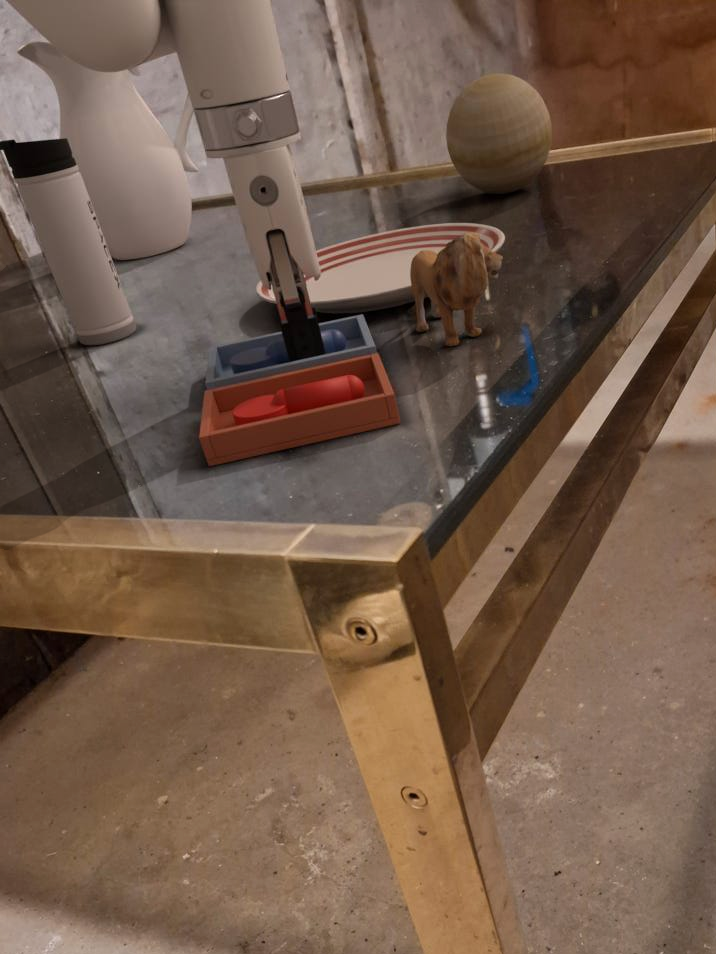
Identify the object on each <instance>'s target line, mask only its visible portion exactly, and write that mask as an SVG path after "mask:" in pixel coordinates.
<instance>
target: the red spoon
mask: <svg viewBox="0 0 716 954" xmlns="http://www.w3.org/2000/svg"><path fill="white" fill-rule="evenodd" d="M364 392H365V389H364V384H363V382H362V381H361V380H360V379H359V378H358V377H356V376H354V375H346V376H341V377H336V378H332V379H327V380H323V381H318V382H314V383H309V384H304V385H300V386H295V387H291V388H286V389H282V390H280V391H278V392H277V393H276V394H275V395H265V396H260V397H256V398H252V399H249V400H247V401H245V402H242V403H241V404H239V405H237V406H236V407H235V408H234V409H233V411H232V414H233V417H234V421H235V424H236V426H239V425H244V424H248V423H253V422H257V421H262V420H266V419H271V418H275V417H280V416H284V415H289V414H293V413H298V412H302V411H307V410H311V409H316V408H320V407H325V406H329V405H334V404H338V403H343V402H347V401H352V400H356V399H361V398H363V396H364Z"/></svg>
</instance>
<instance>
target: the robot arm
mask: <svg viewBox="0 0 716 954" xmlns="http://www.w3.org/2000/svg"><path fill="white" fill-rule="evenodd" d="M5 1H6V2H7V3H8V4H9V5H10V6H11V7H12V8H13V9H14V11H16V12H17V13H18V14H19V15H20V16H21V17H22V18H23V19H24V20H25V21H26V22H27V23H28V24H30V25H31V27H33V28H34V29H35V30H36V31H37V32H38V33H39V34H40V35H41V36H42V37H43V38H45V40H47V42H50V43H51V44H52V45H53V46H55V47H56V48H57V49H58V50H59V51H60V52H62V53H63V54H64V55H65V56H67V57H68V58H70V59H71V60H73V61H74V62H76V63H78V64H79V65H81V66H83V67H86V68H88V69H91V70H94V71H99V72H119V71H123V70H127V69H131V68H134V67H137V66H139V67H140V66H141V65H144V64H146V63H149V62H152V61H154V60H157V59H160V58H162V57H166V56H168V55H172V54H175V53H176V55H177V58H178V62H179V66H180V69H181V72H182V75H183V79H184V84H185V86H186V89H187V94H189V97H190V101H191V104H192V108H194V110H193V111H194V112H193V115H194V117H195V121H196V125H197V128H198V133H199V135H200V139H201V142H202V147H203V149H204V153H205V156H206V158H207V159H223V163H224V167H225V170H226V174H227V178H228V181H229V185H230V189H231V192H232V195H233V199H234V202H235V206H236V209H237V212H238V216H239V220H240V223H241V226H242V229H243V233H244V236H245V239H246V242H247V244H248V245H247V246H248V248H249V251H250V254H251V257H252V260H253V262H254V265H255V268H256V272H257V274H258V276H259V279H260V280H261V282H262V285H263V286H264V287H265V288H267V289H269V290H271V284H272V290H273V293H274V296H275V299H276V303H277V304H276V306H277V310H278V318H279V321H280V322H279V328H280V332H282V335H283V339H284V343H285V346H286V350H287V354H288V357H289V361H290V362H293V361H297V360H302V359H307V358H311V357H316V356H320V355H325V354H326V352H325V348H324V344H323V340H322V336H321V332H320V328H319V323H320V322H319V320H318V316H317V311H315V307H311V303H310V298H309V294H308V290H307V286H306V281H305V278H304V275H305V276H306V277H311V276H314V279H315V281H317V280H318V279H319V278H320V276H321V271H320V266H319V262H318V258H317V253H316V251H317V250H316V249H317V248H316V245H315V240H314V235H313V233H312V228H311V223H310V219H309V214H308V210H307V207H306V202H305V198H304V194H303V189H302V185H301V182H300V177H299V174H298V170H297V167H296V164H295V161H294V157H293V153H292V151H291V148H290V145H293V144H295V143H298V142H299V141H301V140H302V136H301V135H302V134H301V131H300V126H299V122H298V118H297V117H298V116H297V114H296V108H295V104H294V100H293V95H292V91H291V87H290V83H289V78H288V73H287V69H286V66H285V65H286V64H285V60H284V57H283V52H282V48H281V44H280V40H279V35H278V31H277V27H276V22H275V17H274V13H273V9H272V4H271V1H270V0H5Z"/></svg>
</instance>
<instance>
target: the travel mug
mask: <svg viewBox="0 0 716 954" xmlns="http://www.w3.org/2000/svg"><path fill="white" fill-rule="evenodd" d="M0 151H2V152H3V154H4V157H5V159H6V162H7V164H8V166H9V168H10V169H11V175H12V176H13V181H14V182H15V184H17V187H16V188H17V190H18V192H19V195H20V197H21V200H22V202H23V205H24V207H25V210H26V212H27V215H28V218H29V220H30V222H31V225H32V228H33V229H34V232H35V235H36V237H37V240H38V242H39V244H40V247H41V249H42V251H43V252H42V253H43V254H44V257H45V259H46V261H47V264H48V267H49V269H50V272H51V274H52V276H53V279H54V281H55V284H56V286H57V288H58V292H59V294H60V296H61V298H62V301H63V304H64V306H65V309H66V311H67V313H68V316H69V318H70V320H71V324H72V325H73V328H75V333H76V336H77V338H78V341H79V343H81V344H82V345H85V346H90V347H91V346H101V345H106V344H110V343H115V342H118V341H120V340H123V339H125V338H128V337H130V336H131V335H133V334H134V333H135V332H136V330H137V327H138V326H137V324H136V321H135V318H134V316H133V315H132V311H131V308H130V305H129V302H128V300H127V297H126V294H125V291H124V288H123V285H122V283H121V280H120V277H119V274H118V272H117V269H116V267H115V264H114V261H113V257H112V256H111V255H110V253H109V250H108V247H107V245H106V242H105V239H104V236H103V234H102V231H101V228H100V225H99V223H98V220H97V217H96V214H95V212H94V209H93V206H92V204H91V201H90V198H89V195H88V193H87V190H86V187H85V184H84V182H83V179H82V176H81V174H80V173H79V172H78V170H79V168H78V165H77V164H76V162H75V159H74V158H73V157H72V151H71V148H70V145H69V143H68V140H67V138H64V139H60V138H53V139H42V140H41V139H40V140H32V141H31V140H30V141H20V142H17V141H16V140H15V139H6V140H5V139H3V140H0Z"/></svg>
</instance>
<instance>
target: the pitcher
mask: <svg viewBox="0 0 716 954" xmlns="http://www.w3.org/2000/svg"><path fill="white" fill-rule="evenodd" d="M16 54H18V55H19V56H20V57H23V58H24V59H26V60H28V61H29V62H31V63H33V64H34V65H36V66H37V67H38V68H40V69H41V70H42V71H43V72H44V73H45V74H46V75H47V76H48V78H49V79H50V81H52V84H53V86H54V89H55V91H56V94H57V99H58V103H59V105H58V106H59V120H60V121H59V125H60V126H59V128H60V129H59V131H60V132H59V133H60V135H59V137H60V138H59V139H64V138H67V140H68V143H69V145H70V148H71V151H72V157H73V158H74V159H75V162H76V164H77V165H78V168H79V170H78V172H79V173H80V174H81V176H82V179H83V182H84V184H85V187H86V190H87V193H88V195H89V198H90V201H91V204H92V206H93V209H94V212H95V214H96V217H97V220H98V223H99V225H100V228H101V231H102V234H103V236H104V239H105V242H106V245H107V247H108V250H109V253H110V255H111V258H112V259H115V260H118V261H129V260H138V259H143V258H148V257H154V256H157V255H160V254H163V253H168V252H170V251H173V250H175V249H178V248H179V247H181V246H183V245H184V244H185V243H186V242H187V240H188V237H189V233H190V228H191V222H192V209H193V207H192V194H191V188H190V185H189V181H188V180H189V179H188V177H187V174H186V172H187V173H198V172H199V169H198V167H197V166H196V165H195V164H194V163H193V161H192V160H191V159H190V157H189V156H190V155H189V154H188V151H187V137H188V132H189V128H190V124H191V121H192V118H193V115H194V111H193V110H194V108H192V104H191V101H190V97H189V94H188V93H187V95H186V97H185V101H184V104H183V105H184V106H183V109H182V112H181V116H180V119H179V121H178V126H177V129H176V133H175V137H174V141H173V142H172V140H171V139H170V137H169V135H168V134H167V132H166V130H165V129H164V128H163V126H162V125H161V123H160V121H159V120H158V119H157V118H156V116H155V115H154V113H153V112H152V110H151V108H149V106H148V105H147V104H146V102H145V101H144V99H143V97H142V96H141V95H140V93H139V92H138V91H137V89H136V87H135V85H134V83H133V80H132V78H131V76H130V73H131V74H132V75H133V76H135V77H140V76H141V68H140V65H139V66H137V67H134V68H131V69H127V70H123V71H119V72H99V71H94V70H91V69H88V68H86V67H83V66H81V65H79V64H78V63H76V62H74V61H73V60H71V59H70V58H68V57H67V56H65V55H64V54H63V53H62V52H60V51H59V50H58V49H57V48H56V47H55V46H53V45H52V44H51V43H50V42H49V41H48V40H47V41H46V40H35V41H30V42H28V43H26V44H23V45H21V46H20V47H18V49H17V50H16ZM129 72H130V73H129ZM173 143H174V144H173Z"/></svg>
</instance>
